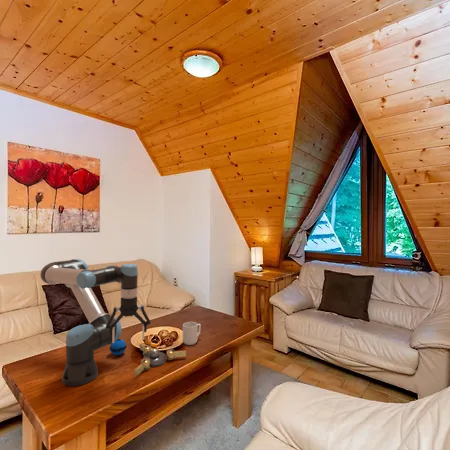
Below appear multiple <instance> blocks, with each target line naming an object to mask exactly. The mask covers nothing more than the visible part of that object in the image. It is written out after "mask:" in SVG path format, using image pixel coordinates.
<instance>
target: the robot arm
mask: <svg viewBox="0 0 450 450" xmlns="http://www.w3.org/2000/svg"><path fill="white" fill-rule="evenodd" d="M138 275H139V272H138V265H137V264H135V263H124V264H121V266H118V265H110V264H109V265H107V266H105V267H103V268H99V269H89V266H88V265H87V263H86V261H84V259H83V260H82V259H79V258H77V259H74V258H73V259H69V260H62V261H61V260H60V261H53V262H49V263H48V264H46V265H45V266H43V268H42V269H41V271H40V279H41V281H42V282H44V283H46V284H49V285H57V284H64V285H65V286H66V287H67V288H70V289H71V291H72V293H73V295H74V297H75V298H76V300H77V302H78V304H79V306H80V308H81V310H82V312H83V313H84V315H85V317H86V320H87V321H88V323H84V324H79V325H77V326H75V327H72V328H71V329H70V330H68V332H67V333H66V335H65V336H66V337H65V339H66V340H65V345H66V346H65V350H66V353H65V356H66V357H65V359H66V362H65V367H64V371H63V373H62V376H61V383H62V382H63V383H62V384H63V385H64V384H65V385H64V386H66V385H68V386H67V387H79V386H83V385H86V384H88V383H91V382H92V381H94V380H95V379H96V378H97V377H98V374H99V369H98V366H97V363H96V360H95V351H96V350H100V349H101V348H103V347H106V346H108V345H111V344H112V343H114V342H115V341H117V340H118V339H121V338H120V337H121V335H122V331H123V330H122V329H123V328H122V324H121V321H120V320H122V318H123V317H125V318H126V317H133V316H134V317H135V318H136V319H137V320H138V321H139V322H140V323H141V324H142V330H141V332H142V334H141V339H142V341H143V340H144V341H145V333H147V328H148V327H147V326H148V325H151V320H150V318H149V316H148V314H147V312H146V310H145V307H144V304H141V305H138V280H139V279H138V277H139V276H138ZM111 283H118V284H120V306H119V307H117V306H114V307H113V310H112V313H111V314H110V313H107V312H105V311H104V309H103V307H102V305H101V303H100V301H99V300H98V297H97V296H96V294H95V293H94V291H93V289H92V288H93V287H98V286H103V285H107V284H111ZM138 311H141V313H142V315H143V317H144V318H143V317H142V316H141V315H140V314H139V313H138ZM118 312H120V314H119V315H118V316H117V317H116V318H115V316H116V313H118ZM78 385H79V386H78Z"/></svg>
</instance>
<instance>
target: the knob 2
mask: <svg viewBox="0 0 450 450" xmlns="http://www.w3.org/2000/svg"><path fill="white" fill-rule="evenodd" d="M150 368H151V367H150V359H148V358H145V359H143V358H142V359H141V360H140V365H138V366H137V367H135V368H134V376H138V375H140V374H141V373H142V372H143V371H147V370H149V369H150Z"/></svg>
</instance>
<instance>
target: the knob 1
mask: <svg viewBox="0 0 450 450" xmlns="http://www.w3.org/2000/svg"><path fill="white" fill-rule="evenodd" d="M138 346H139V347H140V348H141V349H140V351H142V355H143V357H144V356H145V355H146V354H148V353H150V351H151V350H152V345H145V344H143V343H139V345H138Z"/></svg>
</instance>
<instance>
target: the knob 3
mask: <svg viewBox="0 0 450 450" xmlns="http://www.w3.org/2000/svg"><path fill="white" fill-rule="evenodd" d="M182 357H187V350H175V349H168V350H166V360H168V361H171V360H175V359H176V358H182Z"/></svg>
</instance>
